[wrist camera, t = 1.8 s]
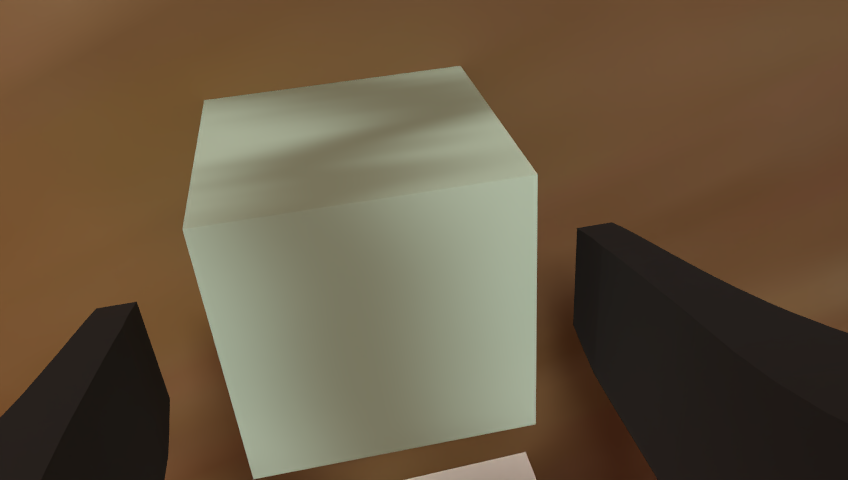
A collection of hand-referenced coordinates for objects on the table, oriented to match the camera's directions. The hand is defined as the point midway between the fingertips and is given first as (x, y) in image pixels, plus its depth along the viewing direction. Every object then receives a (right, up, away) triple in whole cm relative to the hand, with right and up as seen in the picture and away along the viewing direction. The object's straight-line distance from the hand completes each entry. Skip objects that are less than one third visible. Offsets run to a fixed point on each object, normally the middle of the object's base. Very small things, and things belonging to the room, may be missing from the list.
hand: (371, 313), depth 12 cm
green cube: (-1, +2, +4) cm, 4 cm away
